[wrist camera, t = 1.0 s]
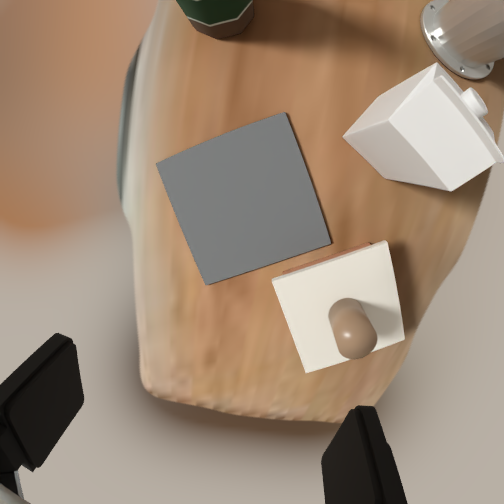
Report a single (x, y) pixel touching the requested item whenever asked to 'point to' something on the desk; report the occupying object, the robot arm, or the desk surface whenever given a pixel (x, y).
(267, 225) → the mat
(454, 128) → the milk carton
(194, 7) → the beer bottle
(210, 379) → the desk surface
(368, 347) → the cover
